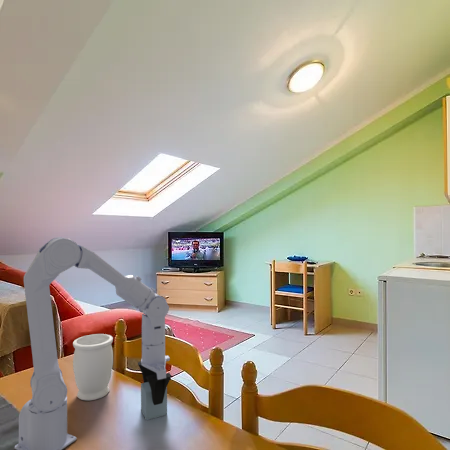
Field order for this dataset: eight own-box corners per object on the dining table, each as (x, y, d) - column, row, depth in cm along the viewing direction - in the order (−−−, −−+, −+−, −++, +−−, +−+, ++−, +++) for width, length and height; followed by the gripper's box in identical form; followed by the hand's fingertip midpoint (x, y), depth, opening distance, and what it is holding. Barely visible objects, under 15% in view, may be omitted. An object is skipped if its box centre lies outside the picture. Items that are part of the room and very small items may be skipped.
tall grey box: (146, 420, 79) (145, 392, 79) (141, 409, 84) (140, 383, 84) (167, 414, 82) (167, 387, 82) (161, 404, 86) (161, 379, 86)
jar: (114, 398, 89) (114, 343, 89) (72, 406, 85) (71, 348, 85) (112, 381, 99) (112, 331, 99) (74, 388, 95) (74, 335, 95)
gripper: (178, 348, 78) (178, 406, 78) (160, 331, 91) (160, 380, 91) (148, 354, 75) (149, 414, 75) (134, 335, 88) (135, 386, 88)
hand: (153, 396), depth 83 cm, fingers open, 7 cm apart
